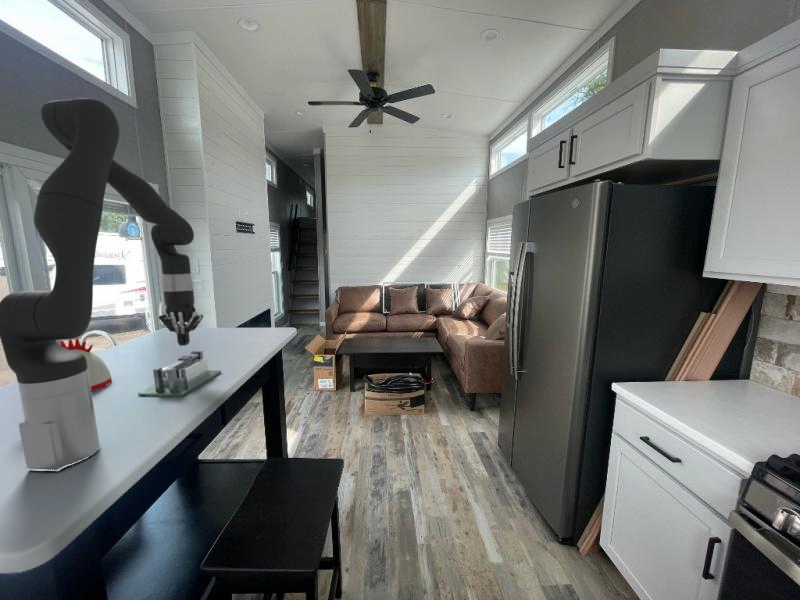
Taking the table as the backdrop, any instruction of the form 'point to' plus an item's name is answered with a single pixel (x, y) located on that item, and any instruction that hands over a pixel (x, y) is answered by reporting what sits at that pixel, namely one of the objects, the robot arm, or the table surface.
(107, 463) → the table surface
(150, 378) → the table surface
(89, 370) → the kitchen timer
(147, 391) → the heatsink
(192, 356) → the silver flat bar
